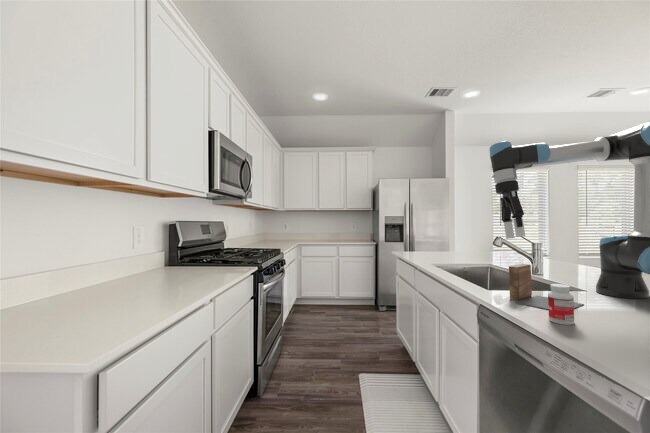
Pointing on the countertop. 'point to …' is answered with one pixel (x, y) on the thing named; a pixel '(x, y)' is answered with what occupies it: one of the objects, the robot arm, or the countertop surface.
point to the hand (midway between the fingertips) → (515, 237)
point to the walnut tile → (520, 282)
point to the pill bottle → (561, 304)
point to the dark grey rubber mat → (540, 302)
